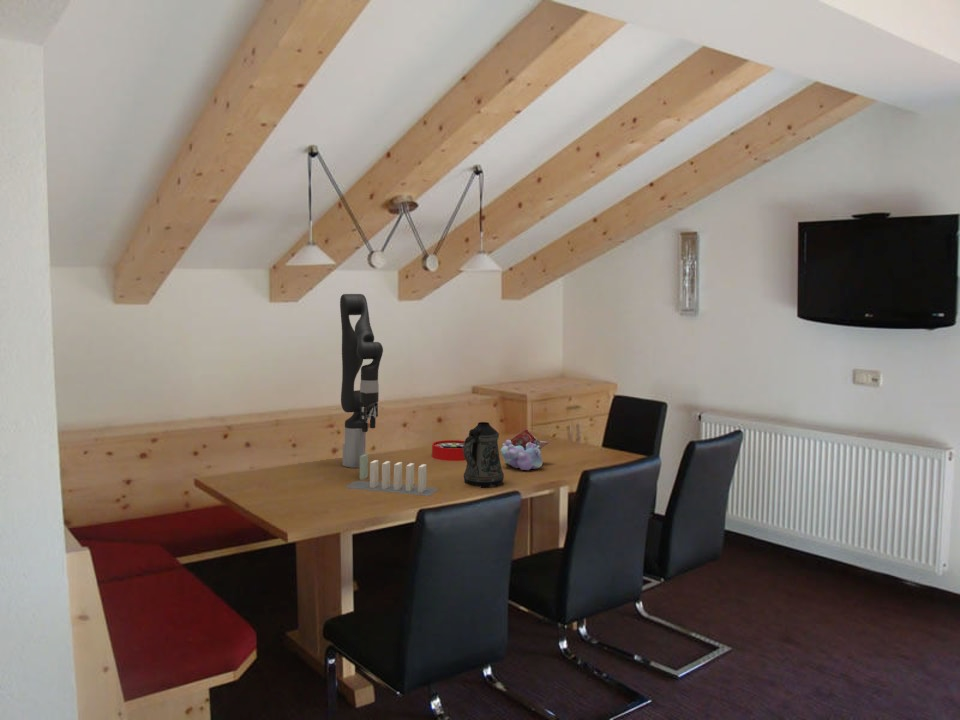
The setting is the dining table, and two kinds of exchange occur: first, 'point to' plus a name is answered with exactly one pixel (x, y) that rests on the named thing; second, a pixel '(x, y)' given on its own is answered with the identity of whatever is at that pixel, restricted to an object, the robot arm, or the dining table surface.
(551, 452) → the dining table surface
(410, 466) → the domino
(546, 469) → the dining table surface
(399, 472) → the domino
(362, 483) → the mat
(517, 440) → the swirly pastel blob
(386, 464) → the domino
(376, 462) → the domino
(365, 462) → the domino
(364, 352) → the robot arm
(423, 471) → the domino
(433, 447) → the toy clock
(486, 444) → the beer stein
